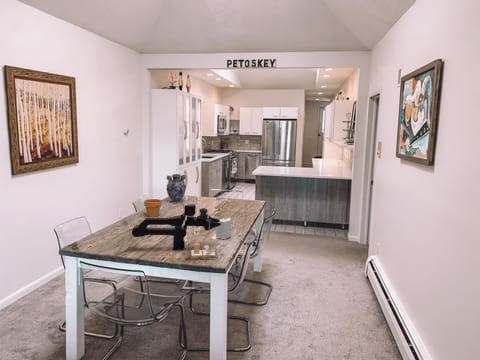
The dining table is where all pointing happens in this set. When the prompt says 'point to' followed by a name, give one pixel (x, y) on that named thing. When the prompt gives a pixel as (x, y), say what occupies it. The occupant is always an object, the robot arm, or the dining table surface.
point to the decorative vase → (176, 187)
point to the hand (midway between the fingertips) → (220, 222)
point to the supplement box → (224, 229)
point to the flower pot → (152, 207)
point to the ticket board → (205, 255)
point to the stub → (196, 250)
